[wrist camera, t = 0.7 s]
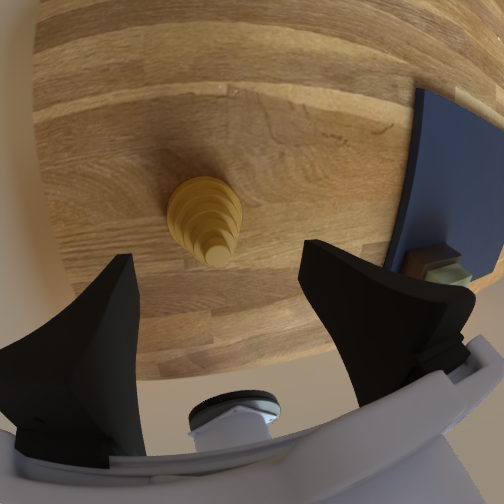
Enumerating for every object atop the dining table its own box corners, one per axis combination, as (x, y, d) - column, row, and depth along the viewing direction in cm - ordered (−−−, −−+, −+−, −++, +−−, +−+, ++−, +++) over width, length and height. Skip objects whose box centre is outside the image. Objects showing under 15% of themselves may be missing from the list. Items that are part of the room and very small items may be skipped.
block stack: (385, 309, 26) (413, 341, 22) (406, 250, 22) (443, 280, 18) (426, 295, 28) (452, 321, 23) (446, 243, 24) (478, 267, 20)
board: (368, 312, 27) (373, 318, 26) (415, 87, 16) (424, 88, 15) (488, 269, 34) (492, 272, 33) (522, 147, 23) (527, 149, 22)
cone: (203, 255, 18) (218, 311, 13) (152, 214, 16) (146, 263, 11) (252, 208, 17) (284, 251, 13) (203, 160, 15) (219, 187, 10)
